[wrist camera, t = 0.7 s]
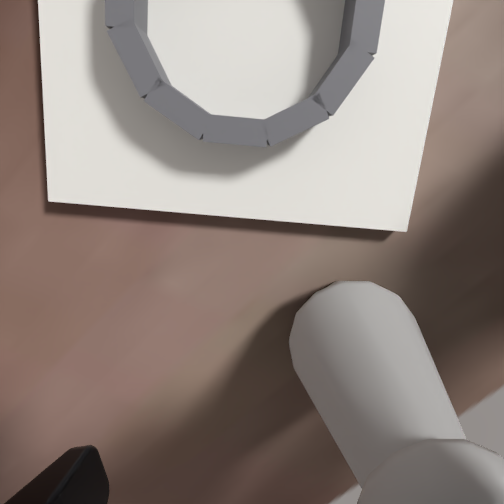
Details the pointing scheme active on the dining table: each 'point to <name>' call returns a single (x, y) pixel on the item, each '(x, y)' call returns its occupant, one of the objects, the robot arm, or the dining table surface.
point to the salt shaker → (387, 400)
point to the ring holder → (241, 105)
